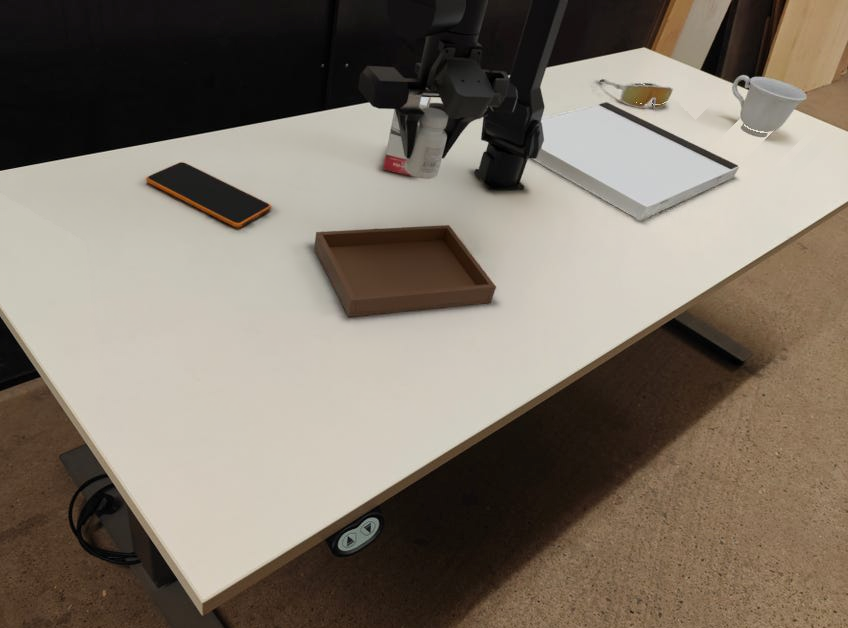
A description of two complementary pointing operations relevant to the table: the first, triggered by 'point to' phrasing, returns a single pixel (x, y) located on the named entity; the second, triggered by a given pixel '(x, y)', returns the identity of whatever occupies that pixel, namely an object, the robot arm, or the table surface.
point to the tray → (401, 269)
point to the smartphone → (209, 194)
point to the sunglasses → (642, 94)
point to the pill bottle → (428, 144)
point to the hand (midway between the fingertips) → (423, 157)
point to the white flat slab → (628, 159)
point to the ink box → (399, 144)
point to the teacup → (766, 103)
